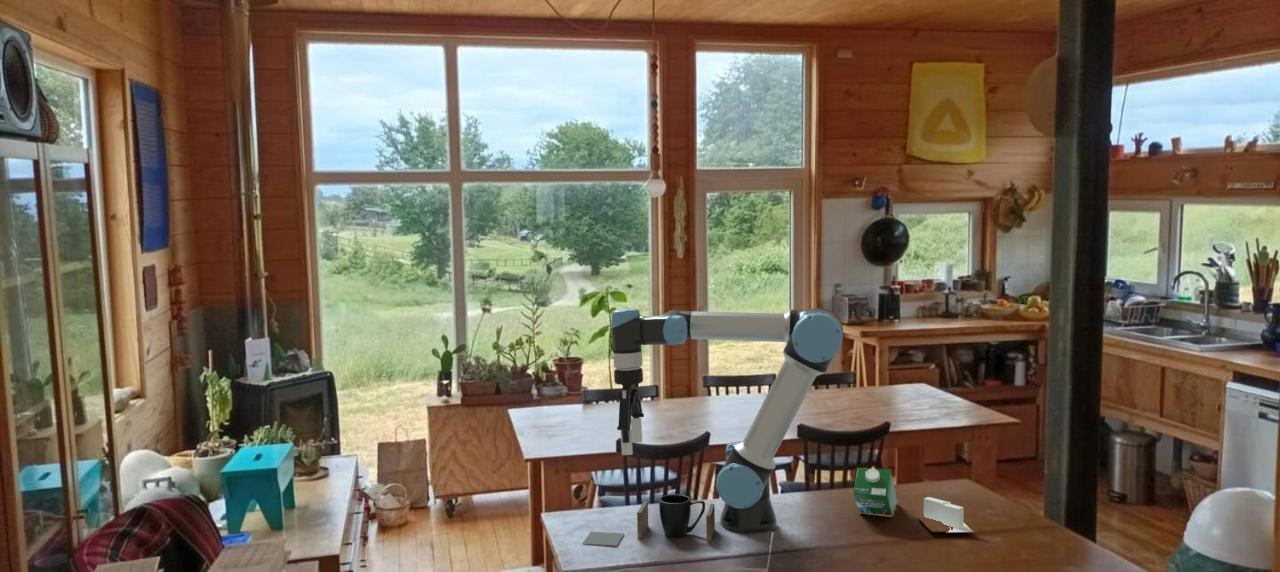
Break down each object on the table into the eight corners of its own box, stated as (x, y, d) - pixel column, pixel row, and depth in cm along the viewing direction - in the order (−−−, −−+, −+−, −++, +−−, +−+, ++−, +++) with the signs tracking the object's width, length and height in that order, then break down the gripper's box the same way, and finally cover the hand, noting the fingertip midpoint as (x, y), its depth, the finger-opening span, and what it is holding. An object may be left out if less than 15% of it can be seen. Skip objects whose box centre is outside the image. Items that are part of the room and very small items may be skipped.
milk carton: (898, 505, 268) (889, 465, 250) (896, 534, 263) (887, 496, 245) (867, 502, 272) (856, 463, 253) (864, 531, 266) (853, 493, 248)
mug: (705, 540, 235) (704, 503, 234) (658, 539, 236) (658, 503, 235) (705, 529, 243) (705, 494, 243) (660, 528, 244) (660, 494, 244)
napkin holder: (913, 514, 254) (913, 494, 254) (954, 513, 255) (954, 493, 254) (931, 532, 239) (931, 511, 239) (974, 531, 240) (974, 510, 239)
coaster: (624, 535, 239) (624, 533, 239) (616, 547, 231) (616, 545, 230) (590, 533, 241) (590, 531, 241) (582, 545, 232) (582, 543, 232)
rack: (714, 529, 243) (714, 503, 242) (710, 542, 233) (710, 515, 233) (644, 526, 246) (644, 500, 246) (637, 538, 237) (637, 512, 236)
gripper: (623, 361, 251) (627, 437, 252) (603, 376, 227) (608, 460, 228) (650, 360, 250) (654, 437, 251) (633, 375, 225) (637, 460, 226)
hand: (632, 448), depth 239 cm, fingers open, 13 cm apart
